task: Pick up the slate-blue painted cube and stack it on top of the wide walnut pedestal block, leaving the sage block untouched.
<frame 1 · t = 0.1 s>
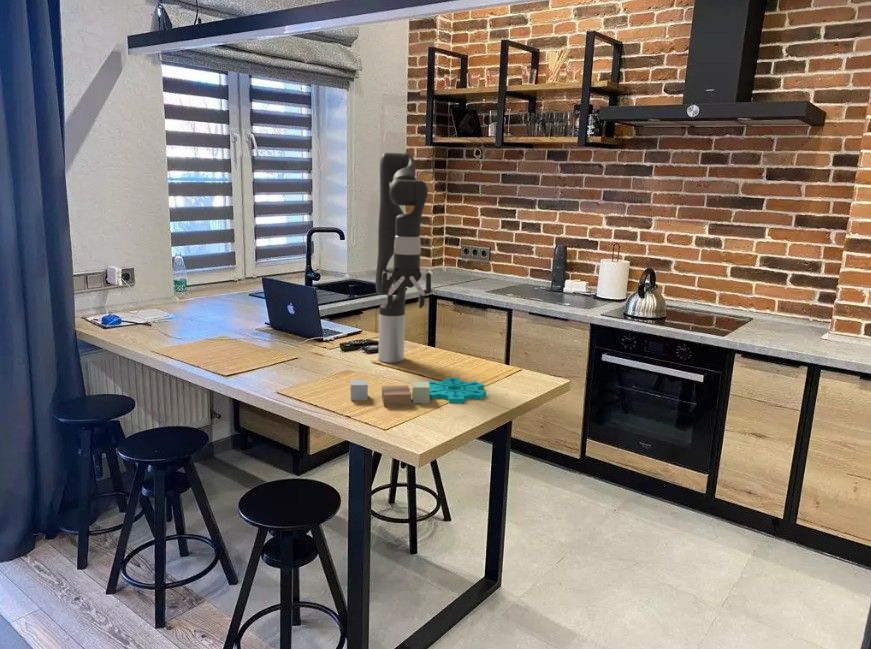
hand: (405, 307, 190), 29 cm above the countertop, fingers open, 8 cm apart
decorative ornament: (454, 393, 208), on the countertop
walnut base: (396, 402, 197), on the countertop
sage block: (429, 392, 199), point 2 cm above the countertop, tilted 90°
slate cube: (358, 398, 199), on the countertop
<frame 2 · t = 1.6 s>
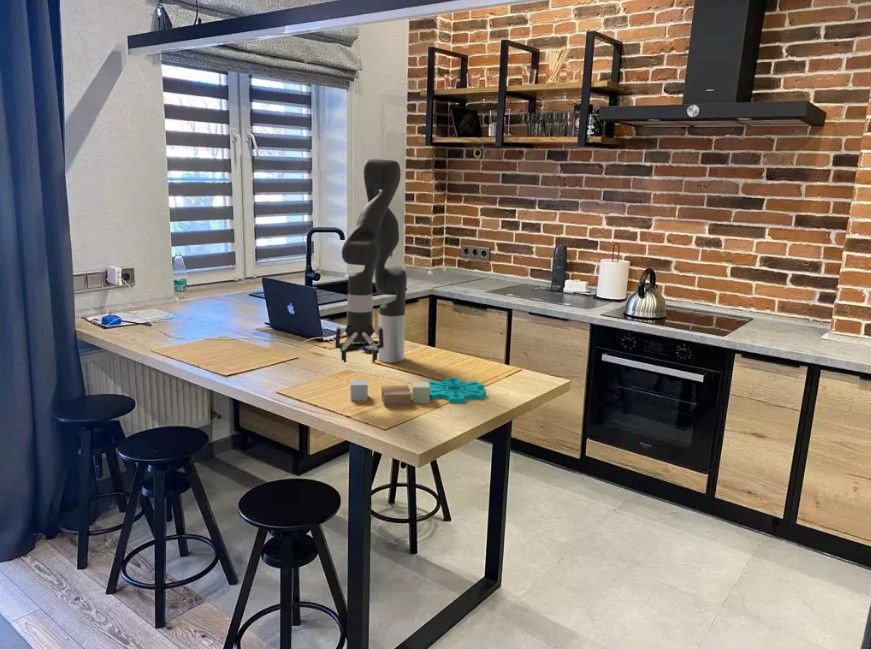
hand: (359, 361, 196), 11 cm above the countertop, fingers open, 8 cm apart
nothing on the countertop moved.
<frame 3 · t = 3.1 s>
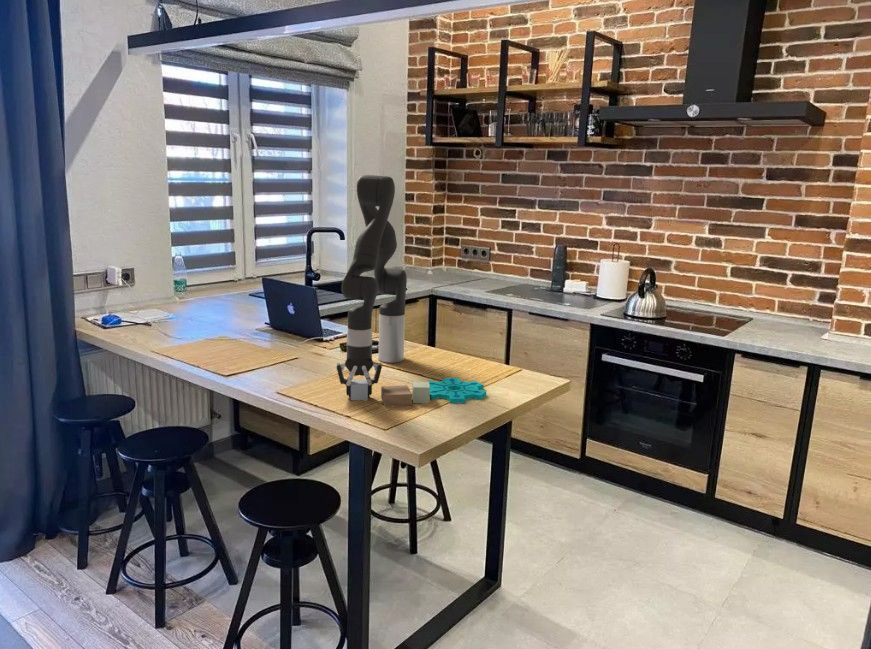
hand: (358, 396, 199), 0 cm above the countertop, fingers closed on slate cube, 5 cm apart
slate cube: (359, 397, 199), on the countertop, touching gripper
everything else where it was.
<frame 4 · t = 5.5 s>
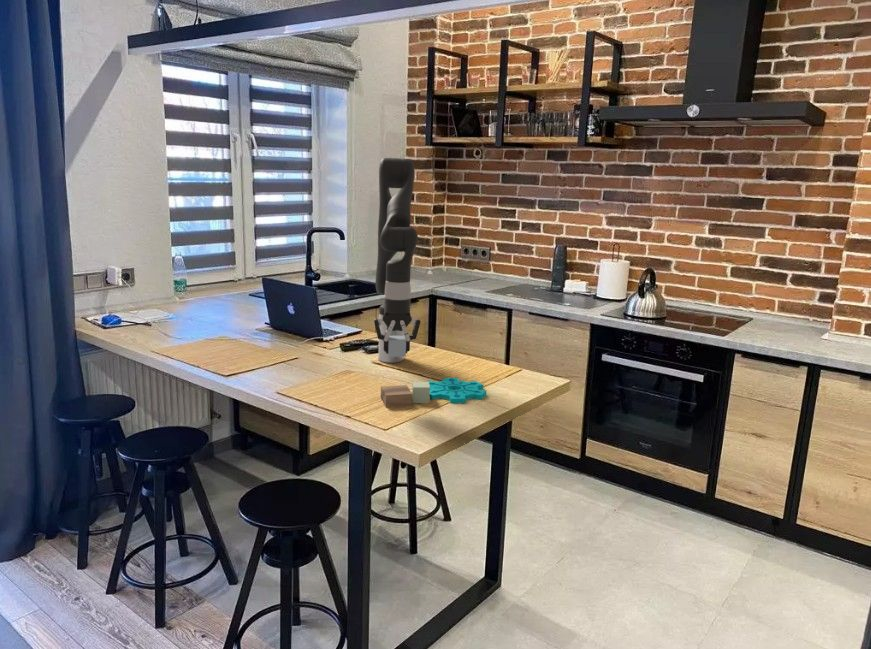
hand: (396, 352, 193), 15 cm above the countertop, fingers closed on slate cube, 5 cm apart
slate cube: (396, 354, 193), point 15 cm above the countertop, touching gripper
everything else where it was.
when the fingers open (5 cm above the countertop, at t = 7.8 s): slate cube drops 1 cm, resting on walnut base.
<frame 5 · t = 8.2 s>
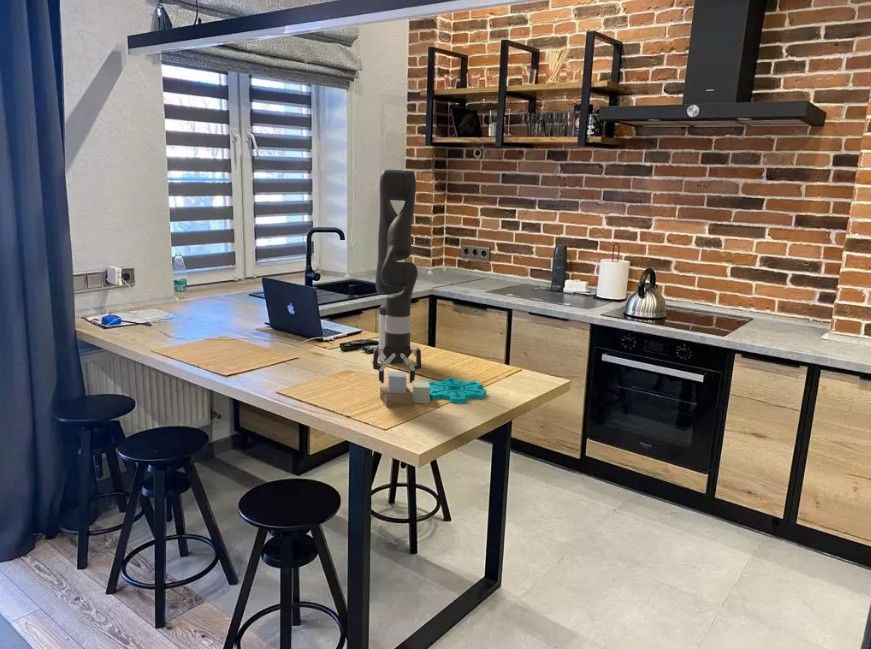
hand: (396, 382, 195), 6 cm above the countertop, fingers open, 8 cm apart
walnut base: (396, 402, 197), on the countertop, touching slate cube
slate cube: (396, 390, 196), point 4 cm above the countertop, touching walnut base
everything else where it was.
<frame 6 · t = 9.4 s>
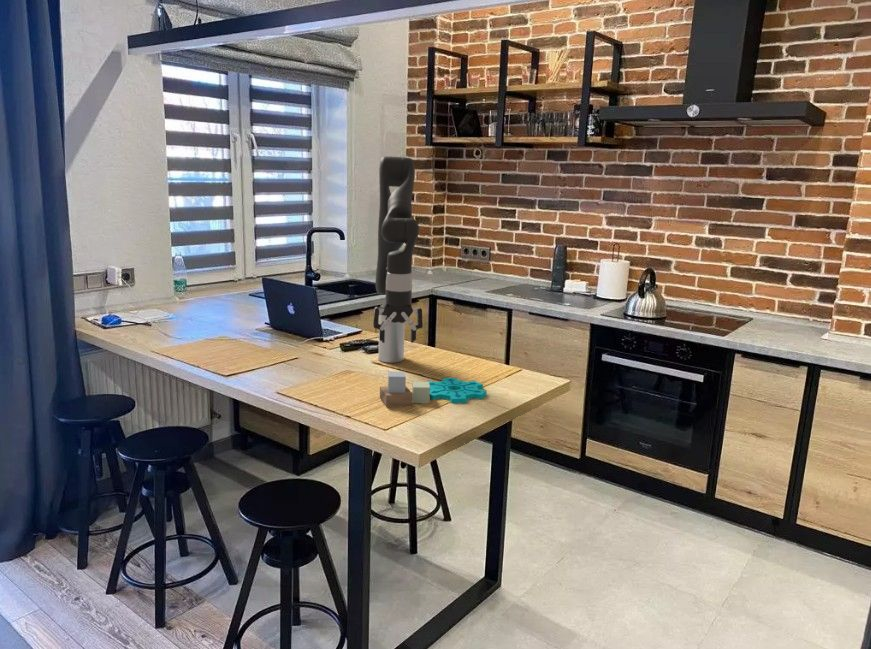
hand: (397, 342, 193), 19 cm above the countertop, fingers open, 8 cm apart
nothing on the countertop moved.
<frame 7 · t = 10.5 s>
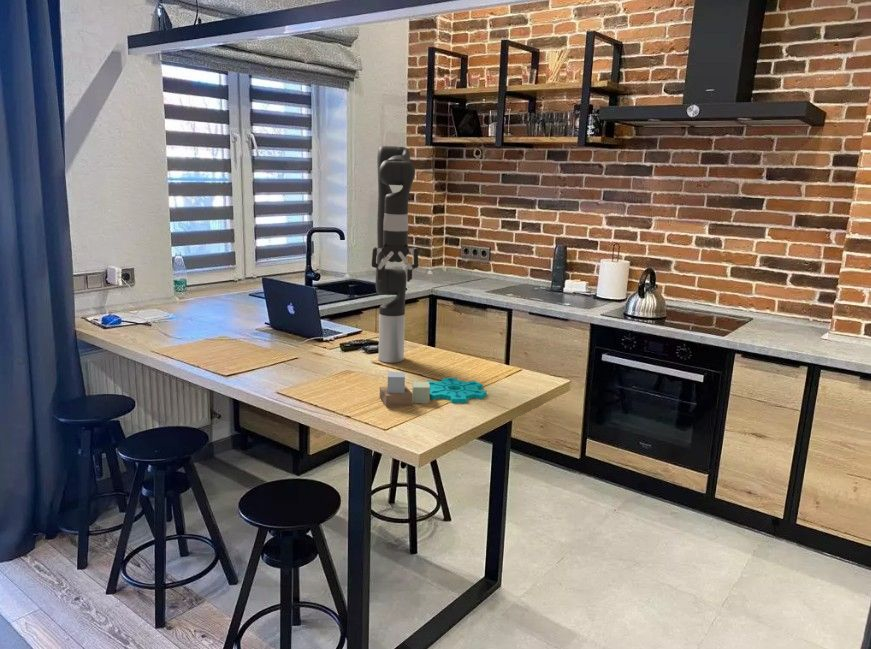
hand: (394, 281, 203), 34 cm above the countertop, fingers open, 8 cm apart
walnut base: (395, 403, 197), on the countertop
slate cube: (395, 390, 196), point 4 cm above the countertop
everything else where it was.
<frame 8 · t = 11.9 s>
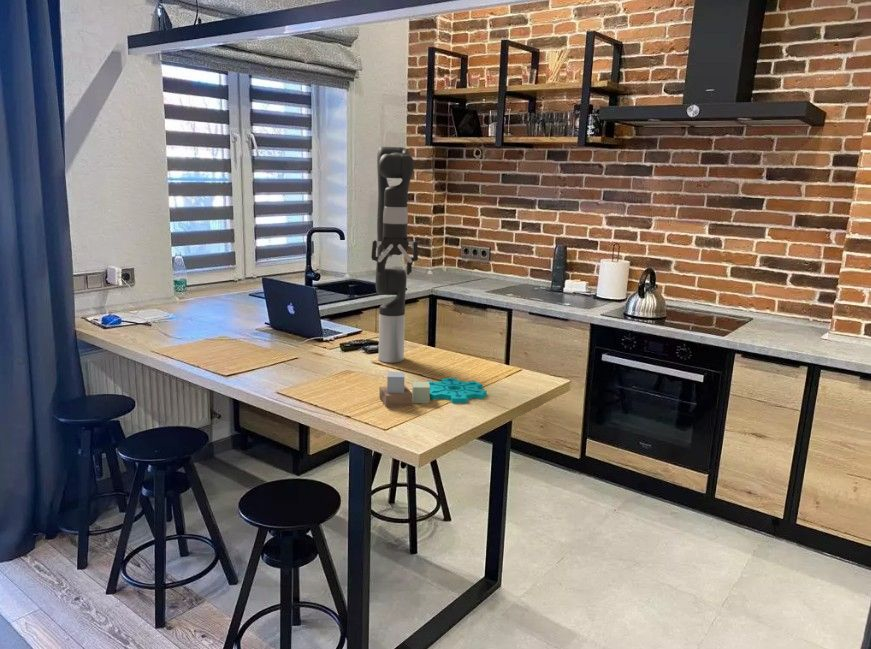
hand: (394, 274, 204), 36 cm above the countertop, fingers open, 8 cm apart
walnut base: (395, 402, 197), on the countertop, touching slate cube
slate cube: (395, 390, 196), point 4 cm above the countertop, touching walnut base
everything else where it was.
at the end: slate cube 0.0 cm off-centre on the walnut base, point 4.0 cm above the walnut base's base; slate cube tilted 0°; the gripper is holding nothing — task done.
